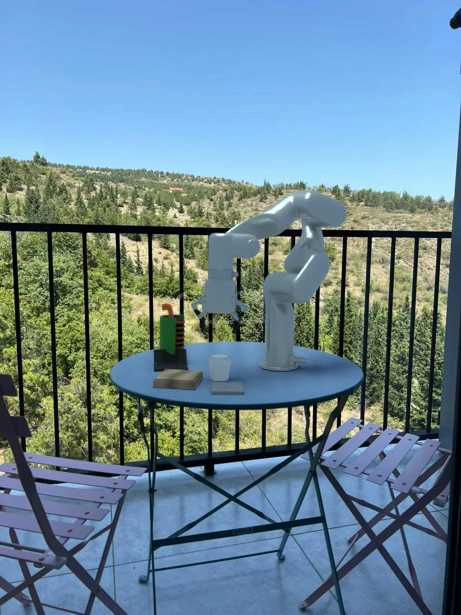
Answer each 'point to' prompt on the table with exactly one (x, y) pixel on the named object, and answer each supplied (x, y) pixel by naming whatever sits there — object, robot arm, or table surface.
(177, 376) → the stand
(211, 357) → the white cup
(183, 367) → the handheld gaming console
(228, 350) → the table surface
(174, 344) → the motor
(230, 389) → the slate coaster
